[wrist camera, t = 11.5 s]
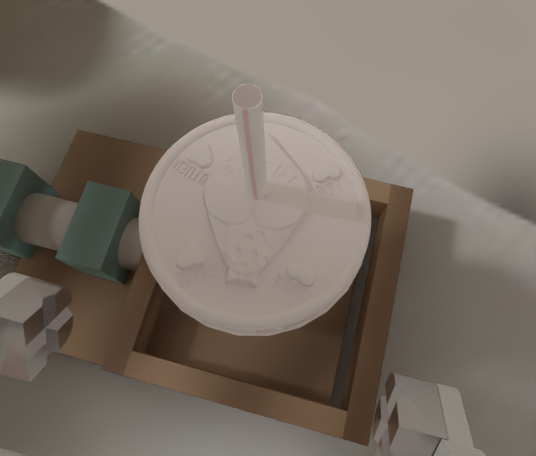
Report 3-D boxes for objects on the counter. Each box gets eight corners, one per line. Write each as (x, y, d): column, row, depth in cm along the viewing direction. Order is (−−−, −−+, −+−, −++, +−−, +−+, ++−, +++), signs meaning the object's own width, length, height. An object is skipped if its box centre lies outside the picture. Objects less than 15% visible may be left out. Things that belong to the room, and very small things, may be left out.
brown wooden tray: (-38, 323, 22) (-109, 311, 18) (52, 131, 25) (10, 85, 21) (355, 436, 20) (374, 451, 16) (396, 212, 23) (421, 178, 19)
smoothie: (338, 228, 22) (432, -1, 9) (324, 363, 20) (419, 335, 7) (210, 212, 22) (111, -32, 9) (184, 342, 20) (8, 276, 7)
